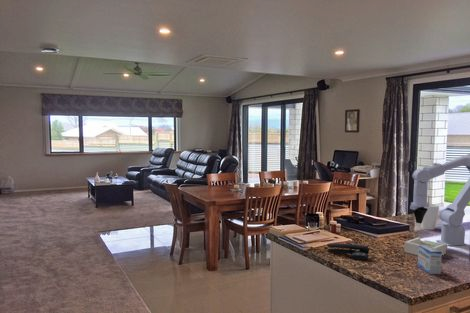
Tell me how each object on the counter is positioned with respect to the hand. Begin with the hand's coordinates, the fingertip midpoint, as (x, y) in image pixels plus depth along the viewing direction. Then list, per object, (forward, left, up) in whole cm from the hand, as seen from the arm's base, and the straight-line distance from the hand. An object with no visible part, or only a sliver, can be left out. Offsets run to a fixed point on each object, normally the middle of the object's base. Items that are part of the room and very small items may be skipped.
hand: (418, 222), depth 173 cm
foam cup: (-24, -22, -10) cm, 34 cm away
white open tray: (+8, +14, -9) cm, 19 cm away
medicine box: (+21, +32, -10) cm, 40 cm away
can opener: (+43, +11, -10) cm, 45 cm away
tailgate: (+3, +12, -8) cm, 14 cm away
